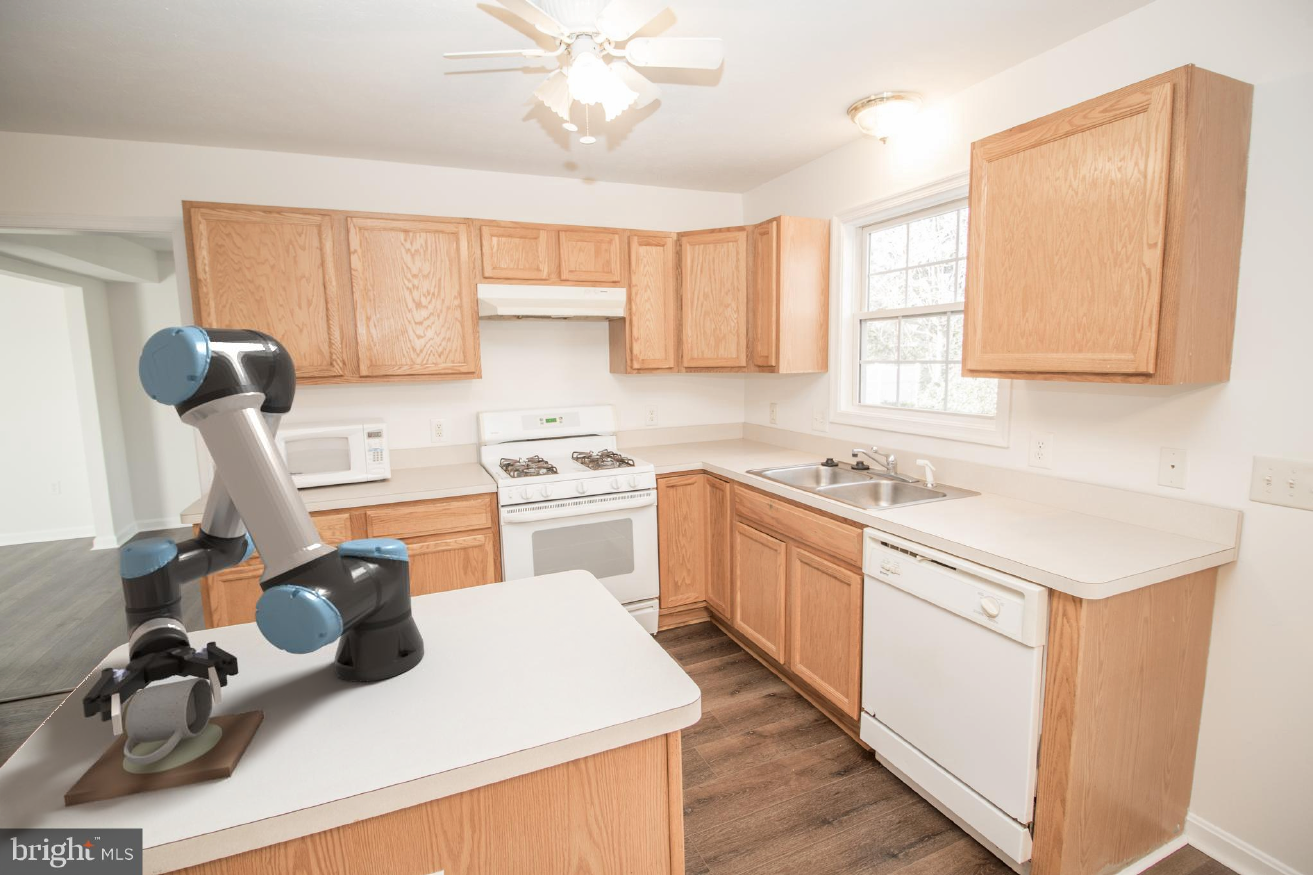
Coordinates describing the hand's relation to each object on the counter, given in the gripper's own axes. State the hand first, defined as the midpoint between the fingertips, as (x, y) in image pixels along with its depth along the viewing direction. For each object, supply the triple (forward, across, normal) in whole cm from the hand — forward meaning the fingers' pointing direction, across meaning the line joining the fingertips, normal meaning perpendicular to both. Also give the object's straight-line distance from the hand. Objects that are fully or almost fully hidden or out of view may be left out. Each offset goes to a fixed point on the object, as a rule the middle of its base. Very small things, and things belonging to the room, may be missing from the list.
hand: (169, 708), depth 81 cm
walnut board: (-4, 0, -9) cm, 10 cm away
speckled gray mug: (-3, 0, -6) cm, 7 cm away
